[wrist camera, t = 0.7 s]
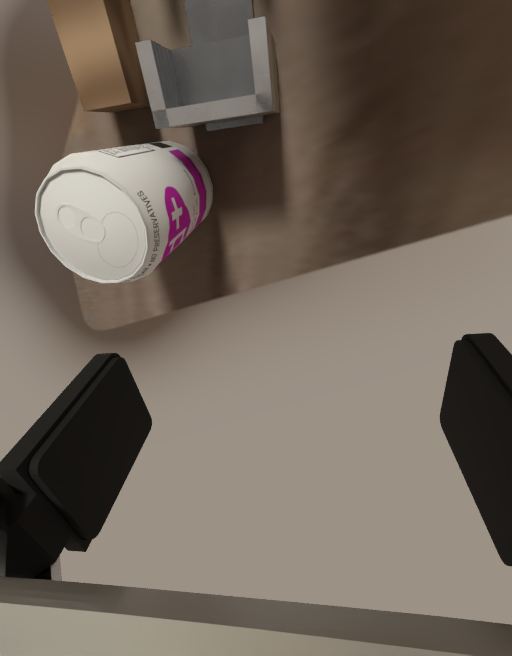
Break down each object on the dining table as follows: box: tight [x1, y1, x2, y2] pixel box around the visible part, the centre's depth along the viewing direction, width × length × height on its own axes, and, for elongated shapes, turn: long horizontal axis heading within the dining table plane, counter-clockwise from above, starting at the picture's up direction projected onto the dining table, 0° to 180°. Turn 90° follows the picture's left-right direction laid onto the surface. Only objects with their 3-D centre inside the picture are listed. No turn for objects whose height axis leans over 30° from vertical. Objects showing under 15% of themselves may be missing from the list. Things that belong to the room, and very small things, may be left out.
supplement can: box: [35, 141, 213, 283], centre depth 26 cm, size 8×8×15 cm
